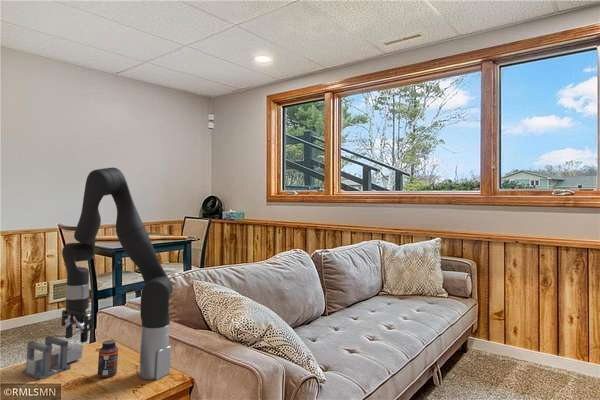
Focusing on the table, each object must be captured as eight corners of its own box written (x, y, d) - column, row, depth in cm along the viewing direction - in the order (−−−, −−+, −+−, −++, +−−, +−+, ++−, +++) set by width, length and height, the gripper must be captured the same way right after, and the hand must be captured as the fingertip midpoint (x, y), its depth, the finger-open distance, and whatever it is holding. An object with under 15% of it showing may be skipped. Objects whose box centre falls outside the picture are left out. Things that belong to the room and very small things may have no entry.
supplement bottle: (108, 379, 127) (110, 345, 127) (93, 377, 128) (95, 343, 128) (120, 372, 132) (122, 339, 133) (105, 370, 134) (107, 337, 134)
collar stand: (51, 362, 138) (53, 335, 138) (69, 368, 134) (71, 340, 134) (22, 373, 128) (23, 343, 129) (40, 380, 124) (42, 349, 125)
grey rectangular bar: (82, 357, 141) (82, 345, 141) (34, 375, 125) (35, 360, 125) (74, 355, 142) (75, 343, 143) (26, 372, 127) (27, 358, 127)
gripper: (55, 296, 140) (54, 339, 140) (80, 300, 134) (79, 346, 134) (74, 291, 147) (73, 333, 147) (99, 296, 141) (98, 340, 141)
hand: (76, 340), depth 141 cm, fingers open, 8 cm apart
